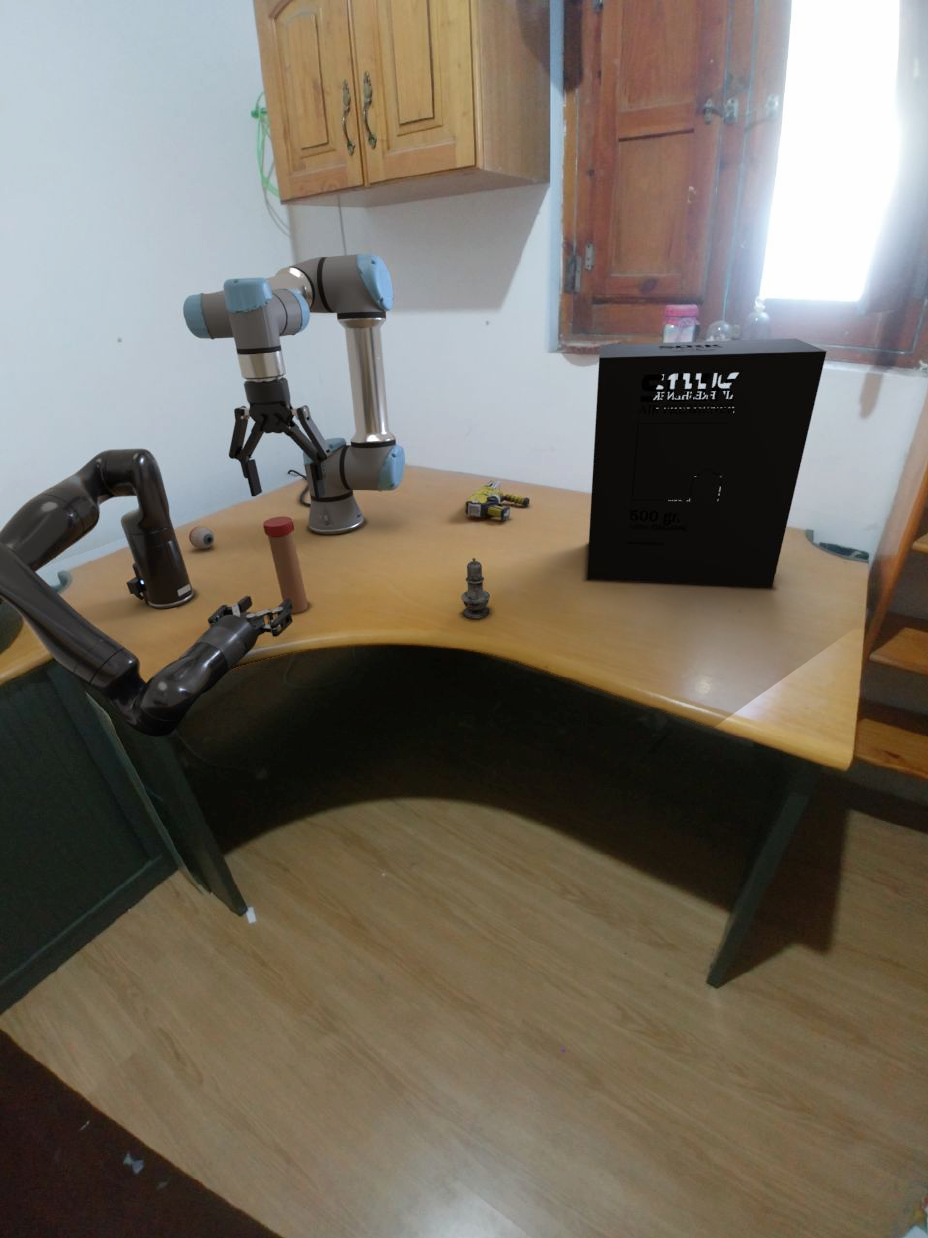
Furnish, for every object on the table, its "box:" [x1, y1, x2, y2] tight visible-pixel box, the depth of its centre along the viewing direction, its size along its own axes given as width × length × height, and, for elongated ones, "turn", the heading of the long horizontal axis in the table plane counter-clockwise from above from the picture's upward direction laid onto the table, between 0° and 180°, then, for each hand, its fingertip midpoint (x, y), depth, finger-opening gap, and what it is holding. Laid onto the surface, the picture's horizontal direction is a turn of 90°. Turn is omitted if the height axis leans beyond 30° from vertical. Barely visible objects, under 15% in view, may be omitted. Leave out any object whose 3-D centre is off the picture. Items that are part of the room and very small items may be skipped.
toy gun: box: [464, 480, 531, 522], centre depth 174 cm, size 5×24×15 cm
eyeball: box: [188, 525, 215, 550], centre depth 158 cm, size 6×6×6 cm
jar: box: [267, 531, 309, 615], centre depth 123 cm, size 5×5×19 cm
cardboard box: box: [586, 338, 828, 589], centre depth 126 cm, size 38×20×45 cm, turn 78°
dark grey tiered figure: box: [460, 557, 491, 619], centre depth 119 cm, size 6×6×12 cm
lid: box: [262, 516, 295, 537], centre depth 119 cm, size 6×6×2 cm
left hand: (269, 601), depth 117 cm, fingers open, 8 cm apart
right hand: (288, 495), depth 117 cm, fingers open, 13 cm apart
